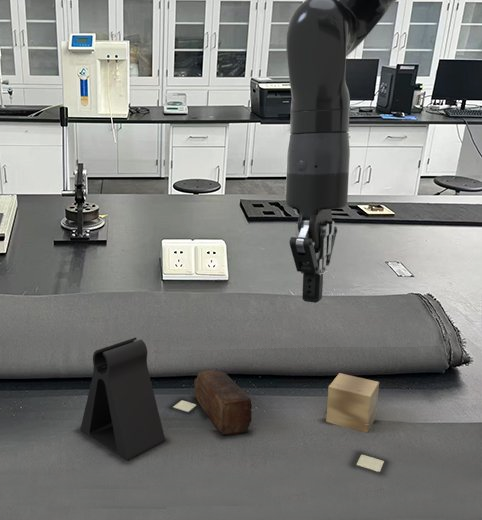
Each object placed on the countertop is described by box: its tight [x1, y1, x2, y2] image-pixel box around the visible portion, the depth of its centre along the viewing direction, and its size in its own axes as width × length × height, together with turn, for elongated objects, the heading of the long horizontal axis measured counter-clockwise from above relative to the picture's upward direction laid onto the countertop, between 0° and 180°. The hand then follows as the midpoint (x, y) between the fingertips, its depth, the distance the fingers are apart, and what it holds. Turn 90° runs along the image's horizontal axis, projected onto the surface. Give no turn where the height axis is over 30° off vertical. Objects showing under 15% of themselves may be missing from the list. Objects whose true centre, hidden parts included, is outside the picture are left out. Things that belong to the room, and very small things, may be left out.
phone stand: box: [79, 337, 166, 462], centre depth 64 cm, size 9×6×12 cm, turn 42°
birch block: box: [325, 372, 380, 434], centre depth 68 cm, size 5×5×5 cm
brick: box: [193, 369, 253, 436], centre depth 70 cm, size 11×4×5 cm, turn 13°
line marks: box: [172, 399, 385, 473], centre depth 66 cm, size 26×2×1 cm, turn 55°
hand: (312, 300), depth 71 cm, fingers closed
